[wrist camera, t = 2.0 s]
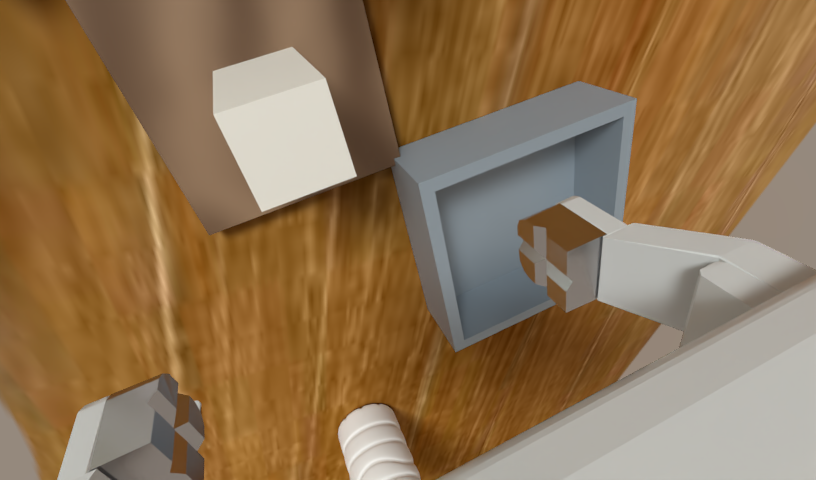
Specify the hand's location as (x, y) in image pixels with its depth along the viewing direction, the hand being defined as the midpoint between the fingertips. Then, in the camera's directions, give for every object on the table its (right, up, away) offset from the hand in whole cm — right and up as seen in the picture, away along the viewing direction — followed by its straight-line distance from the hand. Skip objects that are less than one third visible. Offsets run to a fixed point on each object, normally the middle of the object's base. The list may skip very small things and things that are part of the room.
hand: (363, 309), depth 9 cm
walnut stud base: (-8, +11, +17) cm, 22 cm away
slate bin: (+9, +5, +28) cm, 30 cm away
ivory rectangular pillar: (-7, +10, +16) cm, 20 cm away
